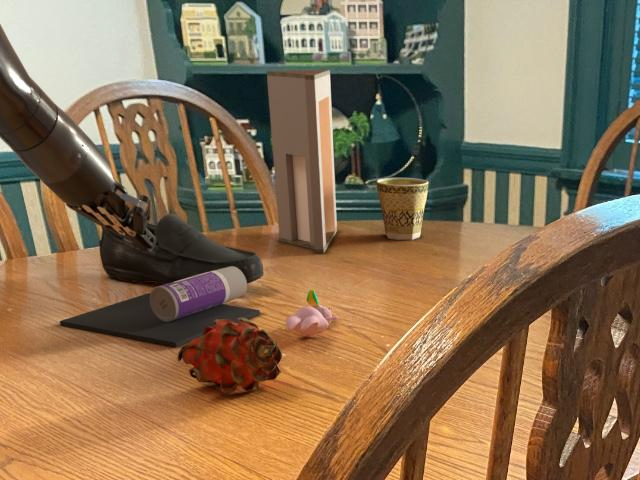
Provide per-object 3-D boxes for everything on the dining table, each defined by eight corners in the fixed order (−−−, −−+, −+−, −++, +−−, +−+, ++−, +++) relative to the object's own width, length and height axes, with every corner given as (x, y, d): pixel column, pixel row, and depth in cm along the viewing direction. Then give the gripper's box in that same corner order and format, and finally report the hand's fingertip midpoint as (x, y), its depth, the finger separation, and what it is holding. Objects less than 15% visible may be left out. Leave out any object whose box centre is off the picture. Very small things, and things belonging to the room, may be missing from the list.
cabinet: (323, 253, 164) (314, 75, 149) (270, 252, 164) (255, 73, 149) (337, 231, 182) (329, 69, 167) (289, 230, 182) (277, 68, 167)
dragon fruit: (292, 407, 103) (193, 416, 105) (298, 345, 106) (201, 355, 108) (265, 362, 95) (159, 372, 97) (272, 296, 98) (169, 308, 100)
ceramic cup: (408, 244, 172) (408, 186, 167) (367, 237, 177) (365, 181, 171) (446, 233, 182) (447, 179, 176) (405, 227, 186) (405, 174, 181)
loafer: (246, 301, 135) (239, 228, 130) (83, 282, 143) (70, 213, 137) (279, 285, 144) (273, 216, 138) (123, 268, 151) (112, 203, 146)
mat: (60, 325, 123) (59, 320, 123) (151, 296, 137) (151, 292, 136) (176, 347, 116) (175, 342, 115) (260, 314, 130) (259, 309, 129)
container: (176, 326, 123) (247, 302, 134) (175, 292, 120) (248, 270, 131) (150, 316, 124) (222, 293, 135) (148, 282, 121) (222, 261, 132)
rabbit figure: (301, 329, 128) (272, 342, 114) (300, 284, 126) (270, 293, 112) (345, 331, 128) (321, 345, 114) (344, 286, 125) (320, 295, 112)
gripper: (115, 129, 103) (199, 226, 119) (31, 122, 108) (123, 216, 124) (89, 186, 102) (178, 276, 118) (5, 176, 107) (101, 264, 123)
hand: (149, 245), depth 121 cm, fingers closed
